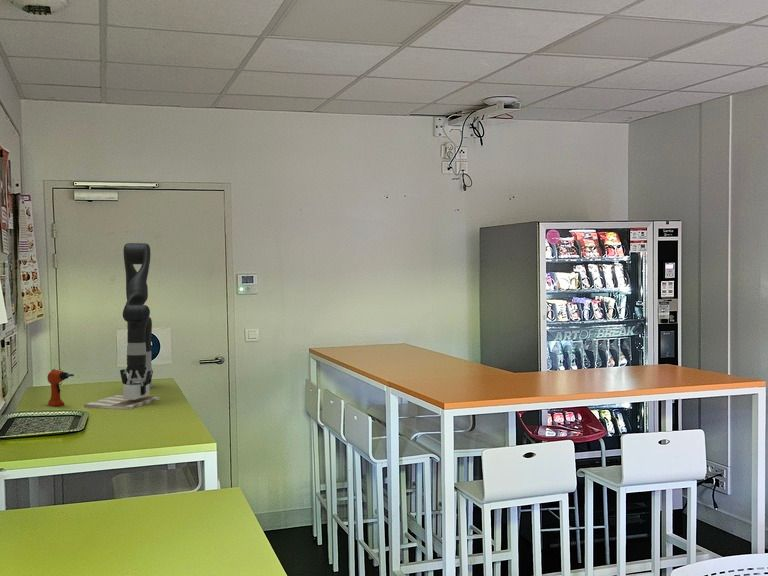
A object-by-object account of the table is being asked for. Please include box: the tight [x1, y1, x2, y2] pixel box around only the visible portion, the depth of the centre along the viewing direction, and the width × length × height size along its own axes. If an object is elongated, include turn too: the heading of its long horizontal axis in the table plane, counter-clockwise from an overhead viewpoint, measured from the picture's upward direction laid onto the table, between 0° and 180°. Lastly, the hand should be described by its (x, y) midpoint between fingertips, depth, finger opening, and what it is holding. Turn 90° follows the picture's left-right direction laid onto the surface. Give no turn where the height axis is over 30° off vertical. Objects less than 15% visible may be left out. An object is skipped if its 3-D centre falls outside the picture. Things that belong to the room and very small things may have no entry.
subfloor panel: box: [83, 394, 160, 411], centre depth 319 cm, size 24×20×1 cm
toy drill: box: [47, 368, 75, 408], centre depth 311 cm, size 5×19×15 cm, turn 51°
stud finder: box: [122, 382, 150, 400], centre depth 318 cm, size 12×5×6 cm, turn 168°
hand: (136, 394), depth 318 cm, fingers closed on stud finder, 5 cm apart
